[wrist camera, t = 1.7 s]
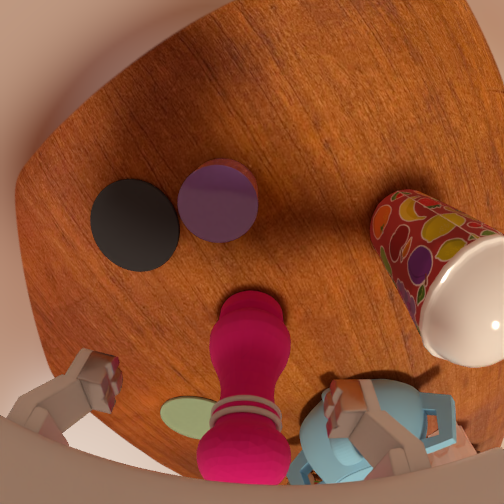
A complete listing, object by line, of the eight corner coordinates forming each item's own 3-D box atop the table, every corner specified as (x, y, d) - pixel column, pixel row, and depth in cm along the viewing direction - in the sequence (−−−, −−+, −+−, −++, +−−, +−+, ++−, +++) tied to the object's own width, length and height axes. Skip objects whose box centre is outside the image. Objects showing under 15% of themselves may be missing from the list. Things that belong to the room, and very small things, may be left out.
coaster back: (163, 430, 42) (163, 432, 41) (157, 389, 37) (157, 391, 37) (233, 441, 42) (233, 443, 42) (241, 402, 37) (240, 404, 37)
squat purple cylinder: (185, 222, 27) (175, 237, 24) (190, 154, 25) (180, 161, 21) (253, 231, 27) (252, 247, 24) (263, 163, 25) (263, 170, 22)
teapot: (282, 442, 42) (284, 520, 29) (319, 359, 34) (338, 464, 21) (389, 440, 43) (407, 505, 30) (447, 362, 35) (487, 439, 22)
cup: (455, 414, 40) (474, 456, 31) (469, 425, 43) (485, 462, 34) (410, 443, 44) (423, 486, 35) (429, 452, 46) (441, 489, 37)
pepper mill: (297, 294, 30) (325, 498, 12) (275, 348, 33) (280, 527, 15) (223, 277, 29) (182, 484, 11) (210, 334, 32) (174, 515, 14)
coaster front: (95, 262, 29) (93, 264, 29) (90, 176, 25) (88, 176, 25) (178, 275, 29) (177, 278, 29) (182, 183, 26) (181, 184, 25)
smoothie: (444, 237, 27) (575, 374, 9) (375, 276, 29) (465, 455, 11) (420, 161, 24) (604, 263, 6) (342, 202, 26) (466, 380, 8)
